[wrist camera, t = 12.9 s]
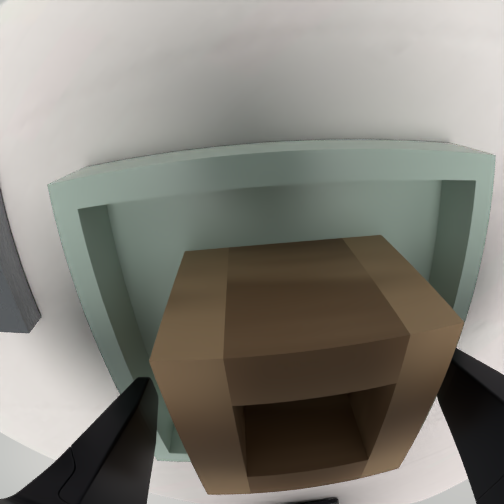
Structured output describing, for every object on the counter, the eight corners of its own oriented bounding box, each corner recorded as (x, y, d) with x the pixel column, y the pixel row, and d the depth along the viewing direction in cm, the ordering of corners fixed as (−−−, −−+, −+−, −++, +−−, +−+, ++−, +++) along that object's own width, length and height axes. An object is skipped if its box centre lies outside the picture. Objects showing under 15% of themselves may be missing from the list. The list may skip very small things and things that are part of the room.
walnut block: (362, 373, 13) (398, 468, 8) (213, 389, 13) (207, 494, 8) (381, 234, 10) (464, 322, 6) (184, 251, 10) (149, 360, 6)
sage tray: (404, 394, 15) (420, 429, 12) (164, 421, 15) (157, 460, 12) (451, 143, 10) (495, 155, 7) (85, 166, 9) (47, 184, 7)
